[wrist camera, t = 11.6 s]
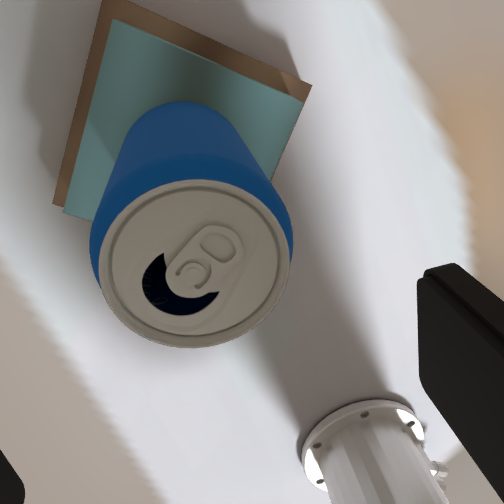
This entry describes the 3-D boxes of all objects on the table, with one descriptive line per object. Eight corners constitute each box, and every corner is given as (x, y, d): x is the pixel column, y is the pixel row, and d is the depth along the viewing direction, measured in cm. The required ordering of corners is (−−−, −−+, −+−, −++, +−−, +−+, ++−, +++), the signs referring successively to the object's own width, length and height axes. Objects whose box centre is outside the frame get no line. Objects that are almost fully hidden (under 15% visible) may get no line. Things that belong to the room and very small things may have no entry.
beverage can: (96, 169, 23) (34, 290, 12) (174, 70, 21) (181, 112, 11) (192, 239, 26) (209, 388, 15) (268, 155, 24) (346, 256, 14)
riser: (301, 80, 28) (328, 91, 23) (231, 242, 32) (242, 280, 27) (110, -7, 24) (95, -15, 19) (61, 190, 29) (39, 223, 24)
